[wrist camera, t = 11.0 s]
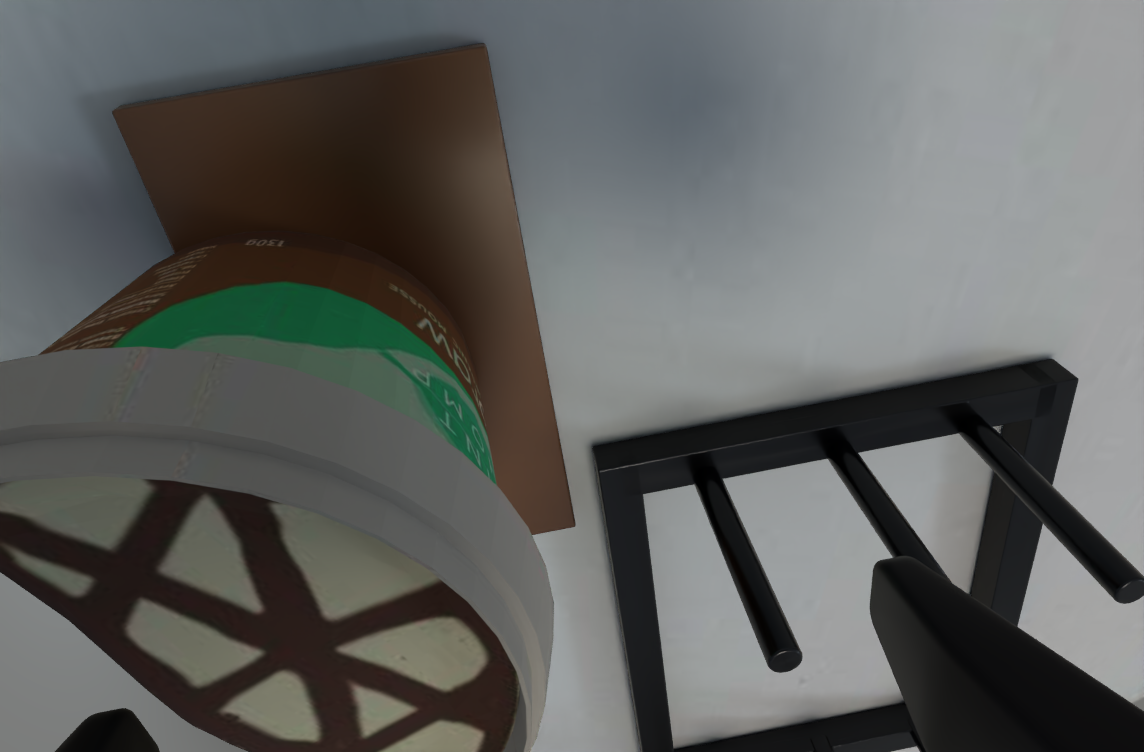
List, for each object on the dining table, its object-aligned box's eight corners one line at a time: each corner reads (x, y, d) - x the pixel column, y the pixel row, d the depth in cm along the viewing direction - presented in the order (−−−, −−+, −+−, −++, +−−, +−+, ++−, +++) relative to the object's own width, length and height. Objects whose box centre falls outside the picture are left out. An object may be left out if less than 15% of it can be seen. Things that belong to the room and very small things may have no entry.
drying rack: (644, 773, 32) (691, 994, 26) (591, 445, 23) (644, 660, 17) (975, 705, 33) (1104, 905, 26) (1053, 357, 24) (1280, 533, 17)
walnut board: (321, 565, 24) (318, 576, 24) (118, 105, 17) (109, 111, 16) (574, 516, 24) (575, 527, 24) (485, 41, 17) (486, 45, 17)
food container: (604, 447, 23) (693, 777, 14) (429, 542, 24) (413, 903, 15) (322, 60, 16) (176, 236, 8) (101, 213, 17) (-236, 512, 9)
